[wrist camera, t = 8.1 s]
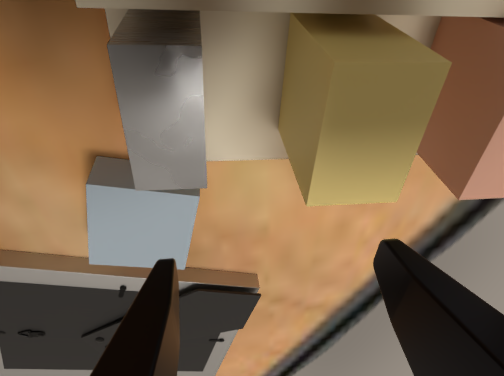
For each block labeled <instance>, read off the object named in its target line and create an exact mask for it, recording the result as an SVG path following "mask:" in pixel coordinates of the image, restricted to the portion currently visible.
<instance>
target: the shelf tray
mask: <svg viewBox="0 0 504 376" xmlns="http://www.w3.org/2000/svg"><path fill="white" fill-rule="evenodd" d="M75 1H76V6H77V8H105V13H106V18H107V23H108V28H109V34H110V39H111V37H112V35H113V34H114V32H115V30H116V29H117V27H118V25H119V24H120V22H121V21H122V19H123V17H124V16H125V14H126V12H127V11H128V9H156V10H199V11H200V21H201V40H202V64H203V91H204V117H205V144H206V161H233V160H266V159H289V158H288V155H287V152H286V149H285V147H284V144H283V141H282V139H281V136H280V133H279V130H278V125H279V115H280V106H281V97H282V87H283V78H284V69H285V59H286V50H287V41H288V31H289V22H290V13H329V14H372V15H377V16H378V17H380V18H382V19H383V20H385V21H386V22H388V23H390V24H391V25H393V26H394V27H396V28H398V29H399V30H401V31H402V32H404V33H406V34H407V35H409V36H410V37H412V38H414V39H415V40H417V41H418V42H420V43H422V44H423V45H425V46H426V47H428V48H430V49H431V46H432V43H433V40H434V37H435V35H436V32H437V29H438V26H439V23H440V20H441V17H442V16H458V17H501V18H504V0H75ZM416 155H418V153H417V152H416Z"/></svg>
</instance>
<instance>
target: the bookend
mask: <svg viewBox="0 0 504 376" xmlns="http://www.w3.org/2000/svg"><path fill="white" fill-rule="evenodd" d="M107 48H108V53H109V58H110V63H111V68H112V73H113V78H114V83H115V88H116V93H117V98H118V103H119V109H120V114H121V119H122V124H123V129H124V134H125V139H126V144H127V149H128V154H129V159H130V164H131V169H132V174H133V179H134V184H135V190H136V191H146V190H171V189H196V188H207V170H206V144H205V117H204V91H203V64H202V40H201V21H200V11H199V10H156V9H128V11H127V12H126V14H125V16H124V17H123V19H122V21H121V22H120V24H119V25H118V27H117V29H116V30H115V32H114V34H113V35H112V37H111V39H110V40H109V42H108V44H107Z"/></svg>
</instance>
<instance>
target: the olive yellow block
mask: <svg viewBox="0 0 504 376" xmlns="http://www.w3.org/2000/svg"><path fill="white" fill-rule="evenodd" d="M451 64H452V62H450V61H449V60H447V59H446V58H444V57H442V56H441V55H439V54H438V53H436V52H434V51H433V50H431V49H430V48H428V47H426V46H425V45H423V44H422V43H420V42H418V41H417V40H415V39H414V38H412V37H410V36H409V35H407V34H406V33H404V32H402V31H401V30H399V29H398V28H396V27H394V26H393V25H391V24H390V23H388V22H386V21H385V20H383V19H382V18H380V17H378V16H377V15H372V14H329V13H290V22H289V31H288V41H287V50H286V59H285V69H284V78H283V87H282V97H281V106H280V115H279V125H278V130H279V133H280V136H281V139H282V141H283V144H284V147H285V149H286V152H287V155H288V158H289V160H290V163H291V166H292V168H293V171H294V174H295V177H296V179H297V182H298V185H299V188H300V190H301V193H302V196H303V198H304V201H305V204H306V206H325V205H346V204H367V203H388V202H397V200H398V198H399V195H400V193H401V190H402V188H403V185H404V182H405V180H406V177H407V175H408V172H409V170H410V167H411V165H412V162H413V160H414V157H415V155H416V152H417V150H418V147H419V145H420V142H421V140H422V137H423V135H424V132H425V130H426V127H427V125H428V122H429V120H430V117H431V115H432V112H433V109H434V107H435V104H436V102H437V99H438V97H439V94H440V92H441V89H442V87H443V84H444V82H445V79H446V77H447V74H448V72H449V69H450V67H451Z"/></svg>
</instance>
